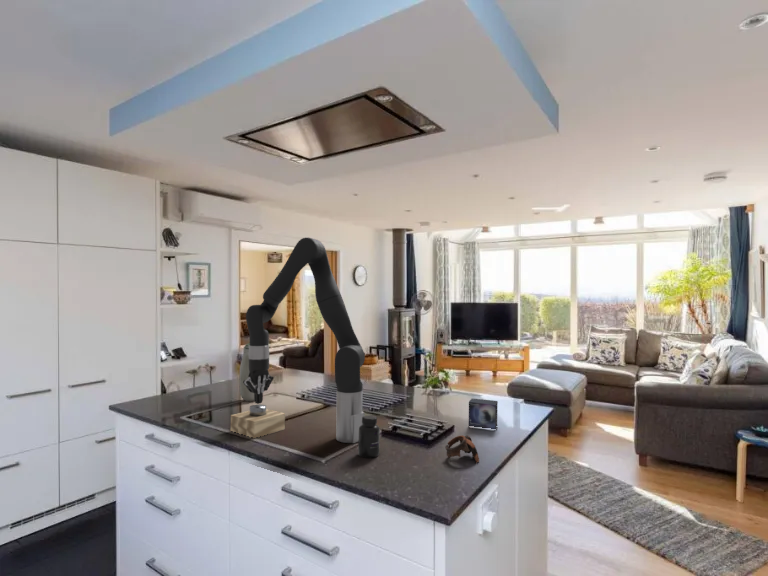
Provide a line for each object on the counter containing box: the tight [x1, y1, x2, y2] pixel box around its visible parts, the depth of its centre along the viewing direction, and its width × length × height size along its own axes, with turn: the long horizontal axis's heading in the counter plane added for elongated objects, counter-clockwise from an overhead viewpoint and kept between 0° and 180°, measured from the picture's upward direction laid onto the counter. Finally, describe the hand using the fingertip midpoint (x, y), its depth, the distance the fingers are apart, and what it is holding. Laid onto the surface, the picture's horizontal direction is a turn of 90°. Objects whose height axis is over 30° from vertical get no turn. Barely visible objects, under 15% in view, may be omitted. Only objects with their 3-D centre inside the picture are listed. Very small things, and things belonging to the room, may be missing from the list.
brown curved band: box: [445, 435, 480, 464], centre depth 136 cm, size 12×10×8 cm
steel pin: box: [249, 403, 267, 417], centre depth 163 cm, size 6×6×8 cm
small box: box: [468, 398, 499, 430], centre depth 169 cm, size 11×6×10 cm, turn 68°
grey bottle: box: [239, 342, 255, 402], centre depth 210 cm, size 10×10×28 cm
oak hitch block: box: [230, 408, 286, 439], centre depth 163 cm, size 14×14×6 cm
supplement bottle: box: [357, 414, 381, 459], centre depth 139 cm, size 7×7×12 cm
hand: (258, 403), depth 163 cm, fingers closed
